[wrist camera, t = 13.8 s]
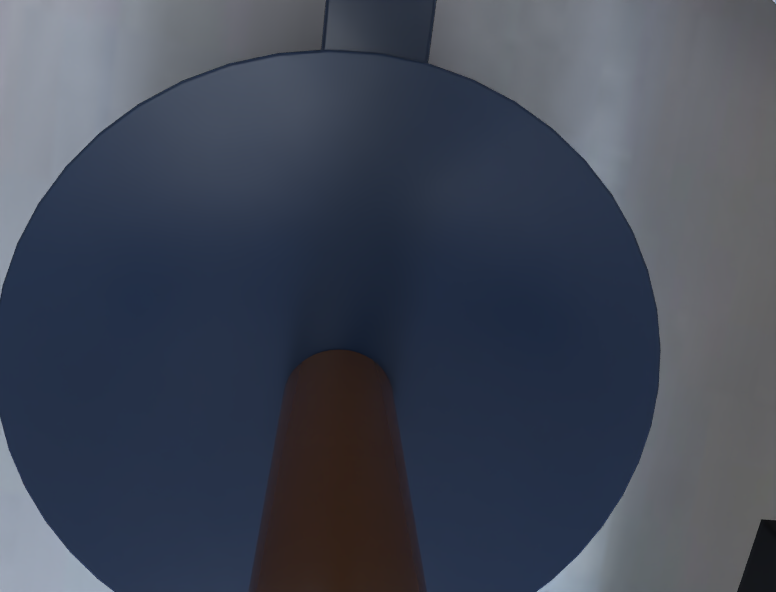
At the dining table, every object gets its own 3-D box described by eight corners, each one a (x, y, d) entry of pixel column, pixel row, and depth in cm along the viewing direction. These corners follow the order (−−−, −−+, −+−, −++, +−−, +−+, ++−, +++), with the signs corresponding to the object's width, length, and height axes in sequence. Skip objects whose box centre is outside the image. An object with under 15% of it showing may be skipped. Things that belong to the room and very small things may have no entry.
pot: (581, 24, 24) (728, -9, 15) (484, 520, 30) (548, 715, 21) (145, -40, 22) (13, -119, 13) (133, 496, 28) (36, 695, 19)
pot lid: (709, 100, 16) (1156, 127, 7) (572, 641, 21) (745, 1060, 12) (5, 3, 14) (-511, -110, 6) (24, 613, 19) (-245, 1072, 10)
